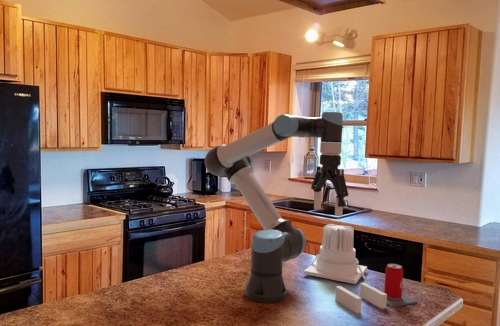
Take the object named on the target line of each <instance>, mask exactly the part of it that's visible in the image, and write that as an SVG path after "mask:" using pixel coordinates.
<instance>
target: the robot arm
mask: <svg viewBox="0 0 500 326" xmlns="http://www.w3.org/2000/svg"><path fill="white" fill-rule="evenodd" d="M343 120H344V116H343V113H342V112H340V111H323V112H322V114H321V116H320V117H319V116H318V117H314V116H313V117H312V116H311V117H309V116H302V115H301V116H300V115H292V114H290V113H288V114H286V113H285V114H280V115H278V116H277V117H276V118H275V119H274V121H273V122H271V123H268V124H267V125H265V126H263V127H260V128H259V129H257V130H254V131H253V132H252V131H251V132H250V133H248V134H246V135H244V136H241V137H240V138H238V139H236V140H234V141H231V142H230V143H227V144H225V143H223V144H222V143H221V144H220V145H218V146H216V147H214V148H212V149H210V150H209V151H207V153H206V155H205V156H204V165H205V169H206V170H207V171H208V172H209V173H210V174H212V175H213V176H215V177H216V176H217V177H224V176H225V177H226V179H227V181H228V182H229V184H231V185H235V186H236V187H237V190H238V191H239V193H240V194H241V195H242V197H243V199H244V200H245V202H246V203H247V205H248V207H249V208H250V210H251V211H252V213H253V214H254V216H255V218H256V219H257V220H258V222H259V224H260V225H261V227H262V228H263V229H261V230H258V231H256V232H254V234H253V236H252V238H251V244H250V245H251V246H250V247H251V253H250V254H251V256H250V257H251V258H250V260H251V261H250V274H249V278H248V281H247V283H246V285H245V288H244V289H245V290H244V291H245V292H244V295H245V297H246V298H247V299H249V300H251V301H254V302H256V303H257V302H258V303H266V304H270V303H278V302H279V303H280V302H282V301H284V300H285V299H286V297H287V288H286V285H285V281H284V278H283V266H284V265H283V264H284V263H285V262H288V261H290V260H293V259H296V258H297V257H300V256H301V255H302V254H303V253H304V251H305V250H306V243H307V240H306V237H305V234H304V232H303V231H302V230H301V229H299V228H297V227H295V226H293V225H292V223H291V222H290V220H288V219H284V218H283V217H282V215H281V214H280V213H279V211H278V210H277V208H276V207H275V205H274V204H273V202H272V201H271V199H270V197H269V196H268V195H267V193H266V192H265V190H264V189H263V187H262V186H261V185H260V182H259V181H258V180H257V178H256V177H255V175H254V173H253V171H254V167H253V163H252V162H253V160H252V159H253V158H252V155H254V154H256V153H258V152H261V151H262V150H265V149H267V148H270V147H271V146H274V145H276V144H279V143H280V142H283V141H285V140H287V139H290V138H292V137H293V138H296V137H297V138H317V139H319V138H320V148H319V153H320V155H319V164H320V166H319V165H317V166H316V171H315V175H314V178H313V180H312V183H311V186H310V189H311V190H313V192H314V195H313V196H314V197H313V209H314V210H321V209H322V196H323V195H322V193H323V192H322V190H323V188H324V186H325V184H326V182H327V181H329V182H330V183H331V184H332V186H333V189H334V192H335V195H336V196H335V203H334V205H335V206H334V216H335V217H339V216H340V217H342V216H343V210H344V209H343V208H344V202H345V201H344V200H345V197H349V191H348V186H347V182H346V178H345V169H344V168H343V169H342V168H339V166H340V165H342V162H341V161H342V156H341V154H342V143H343V142H342V139H343V126H344V123H343V122H344V121H343Z"/></svg>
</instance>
